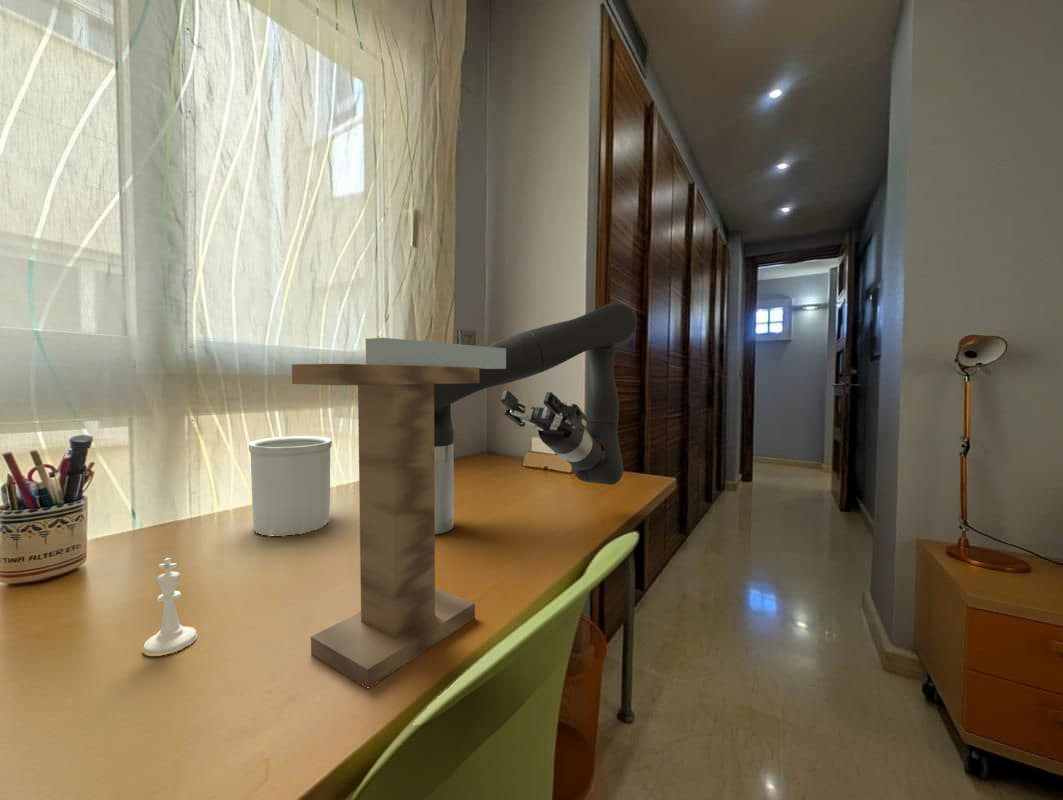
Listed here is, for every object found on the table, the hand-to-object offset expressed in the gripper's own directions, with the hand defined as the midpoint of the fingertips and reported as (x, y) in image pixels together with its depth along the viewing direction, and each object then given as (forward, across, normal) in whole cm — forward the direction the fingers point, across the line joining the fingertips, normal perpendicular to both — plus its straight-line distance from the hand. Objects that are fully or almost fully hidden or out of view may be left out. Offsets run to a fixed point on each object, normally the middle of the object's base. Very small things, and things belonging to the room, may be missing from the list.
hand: (524, 396), depth 75 cm
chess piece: (+22, -20, +45) cm, 54 cm away
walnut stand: (+9, 0, +37) cm, 38 cm away
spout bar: (+18, 0, +5) cm, 19 cm away
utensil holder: (-4, -49, +30) cm, 58 cm away
